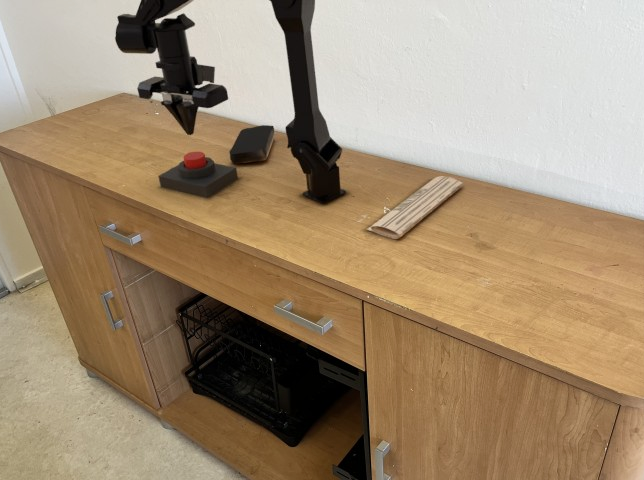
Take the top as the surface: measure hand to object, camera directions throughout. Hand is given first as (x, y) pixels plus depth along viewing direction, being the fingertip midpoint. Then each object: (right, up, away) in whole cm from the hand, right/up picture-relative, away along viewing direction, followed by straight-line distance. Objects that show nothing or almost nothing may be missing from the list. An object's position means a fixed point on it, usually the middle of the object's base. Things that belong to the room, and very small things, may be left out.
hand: (190, 134), depth 125 cm
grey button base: (0, -9, +6) cm, 11 cm away
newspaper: (+45, -16, -9) cm, 48 cm away
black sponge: (+10, +1, +19) cm, 21 cm away
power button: (0, -5, +4) cm, 7 cm away
